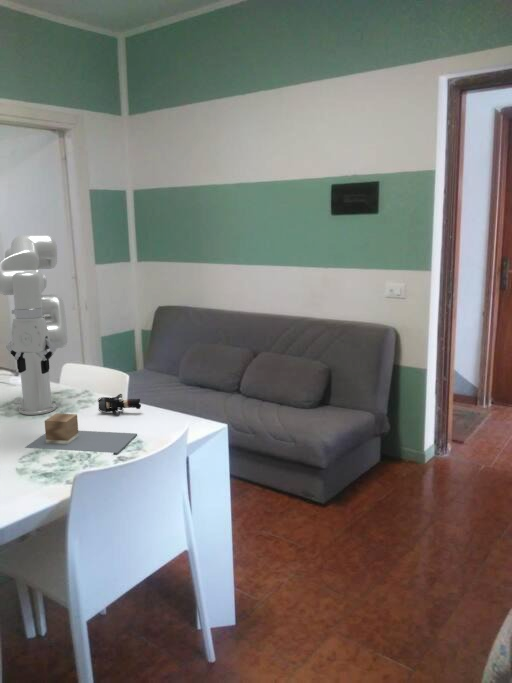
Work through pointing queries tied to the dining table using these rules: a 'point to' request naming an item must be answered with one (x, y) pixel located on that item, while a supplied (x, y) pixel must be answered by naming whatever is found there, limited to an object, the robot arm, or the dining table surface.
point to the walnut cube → (61, 428)
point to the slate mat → (89, 442)
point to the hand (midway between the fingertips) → (33, 371)
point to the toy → (117, 404)
